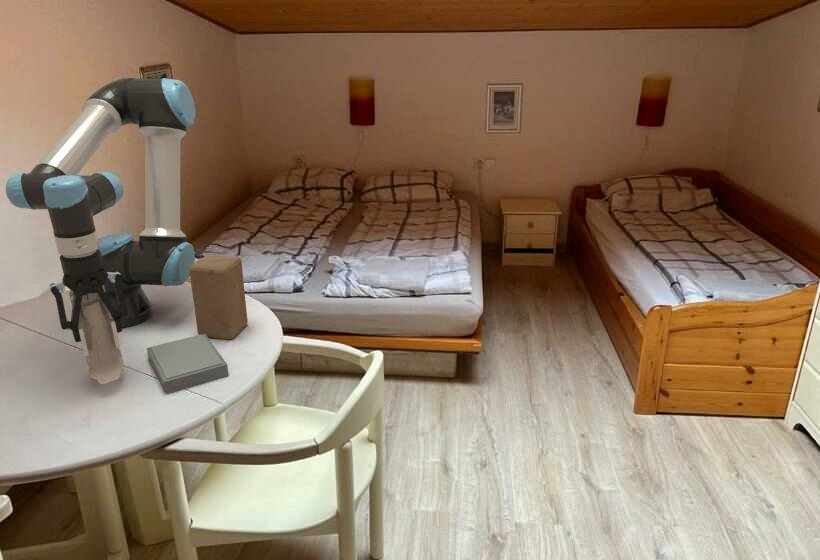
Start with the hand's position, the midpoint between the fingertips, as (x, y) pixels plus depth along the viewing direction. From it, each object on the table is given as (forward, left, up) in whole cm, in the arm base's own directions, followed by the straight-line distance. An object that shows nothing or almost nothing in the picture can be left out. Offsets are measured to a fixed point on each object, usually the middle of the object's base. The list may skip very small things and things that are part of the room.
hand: (101, 348), depth 130 cm
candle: (0, 0, -5) cm, 5 cm away
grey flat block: (+3, +17, -8) cm, 19 cm away
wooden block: (-11, +30, -9) cm, 33 cm away
